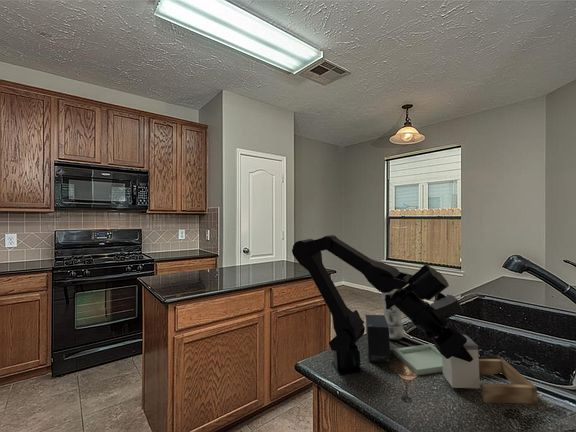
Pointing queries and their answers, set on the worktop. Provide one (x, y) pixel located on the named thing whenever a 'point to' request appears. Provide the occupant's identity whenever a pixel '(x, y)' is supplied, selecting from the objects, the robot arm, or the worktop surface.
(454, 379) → the grey drawer with handle
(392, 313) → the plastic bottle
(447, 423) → the worktop surface
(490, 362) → the bay
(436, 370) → the tray
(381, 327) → the small box
